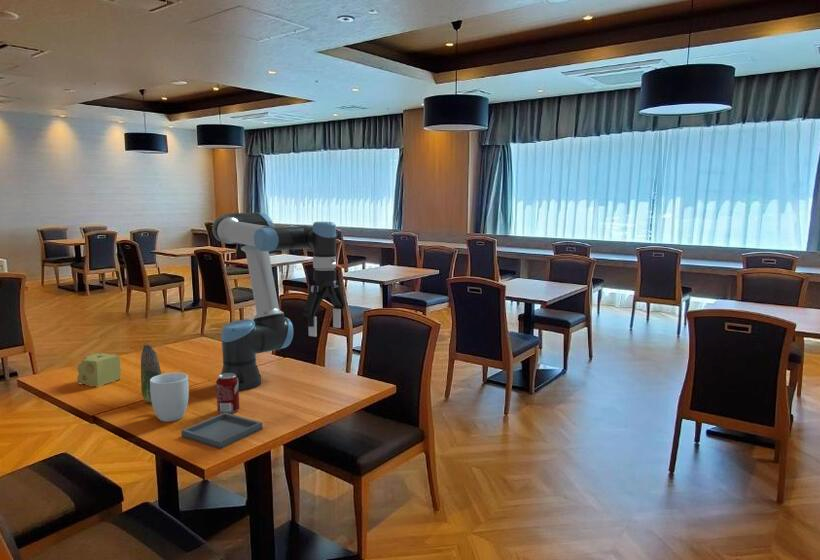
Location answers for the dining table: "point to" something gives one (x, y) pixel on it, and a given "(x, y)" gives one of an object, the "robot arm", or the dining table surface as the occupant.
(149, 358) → the vegetable
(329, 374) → the dining table surface
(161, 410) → the mug
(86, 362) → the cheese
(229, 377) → the soda can
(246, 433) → the tray
